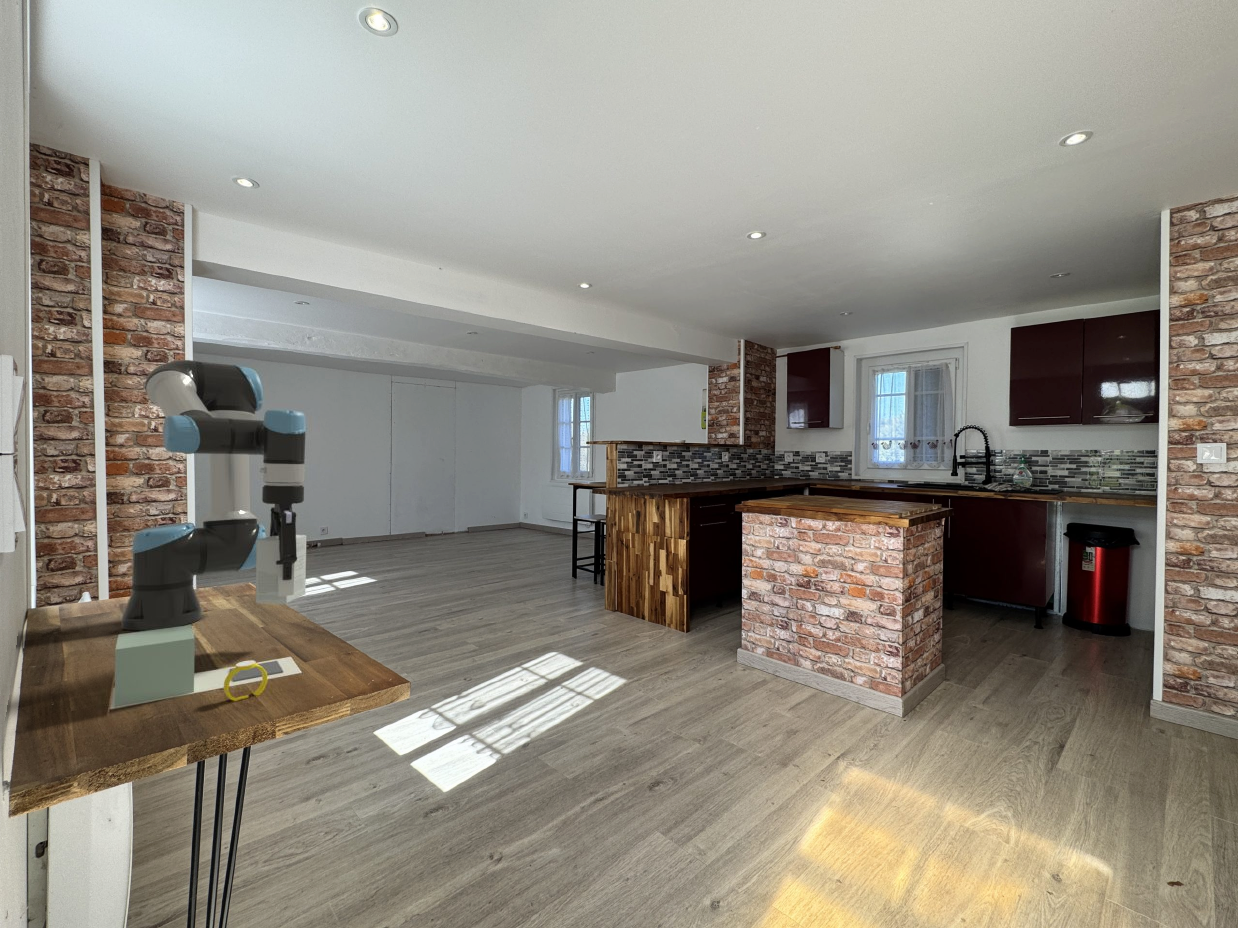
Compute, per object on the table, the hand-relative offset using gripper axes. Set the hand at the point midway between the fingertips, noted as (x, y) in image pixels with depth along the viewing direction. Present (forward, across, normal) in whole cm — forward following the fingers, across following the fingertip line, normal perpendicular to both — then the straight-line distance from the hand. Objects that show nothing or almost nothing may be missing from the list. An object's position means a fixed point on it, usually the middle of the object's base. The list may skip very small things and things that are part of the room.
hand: (281, 590), depth 121 cm
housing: (+12, +14, -20) cm, 27 cm away
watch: (+12, +26, -9) cm, 30 cm away
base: (+12, +14, -13) cm, 22 cm away
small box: (+2, 0, 0) cm, 2 cm away
